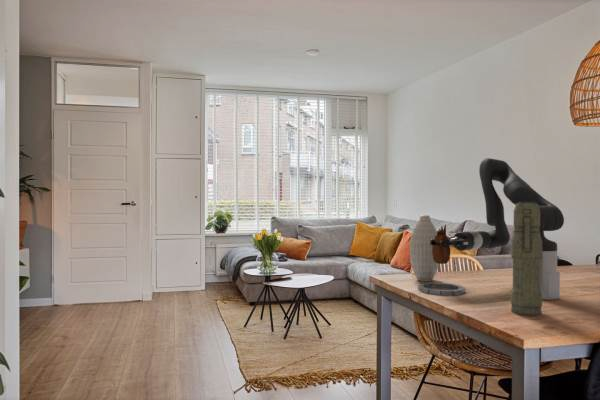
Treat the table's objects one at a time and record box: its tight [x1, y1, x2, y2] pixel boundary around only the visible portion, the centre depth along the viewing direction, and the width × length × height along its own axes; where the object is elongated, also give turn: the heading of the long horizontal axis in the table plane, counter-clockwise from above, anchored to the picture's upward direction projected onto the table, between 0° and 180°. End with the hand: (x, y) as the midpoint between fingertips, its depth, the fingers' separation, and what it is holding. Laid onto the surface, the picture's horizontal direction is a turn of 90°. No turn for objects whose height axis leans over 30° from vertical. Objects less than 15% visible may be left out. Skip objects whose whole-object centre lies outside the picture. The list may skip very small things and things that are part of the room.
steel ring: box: [417, 282, 466, 296], centre depth 184 cm, size 17×17×2 cm
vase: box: [409, 214, 440, 282], centre depth 207 cm, size 13×13×28 cm
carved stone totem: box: [510, 202, 543, 317], centre depth 150 cm, size 9×12×35 cm
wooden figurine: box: [432, 224, 451, 265], centre depth 184 cm, size 7×6×15 cm
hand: (436, 243), depth 183 cm, fingers closed on wooden figurine, 4 cm apart
